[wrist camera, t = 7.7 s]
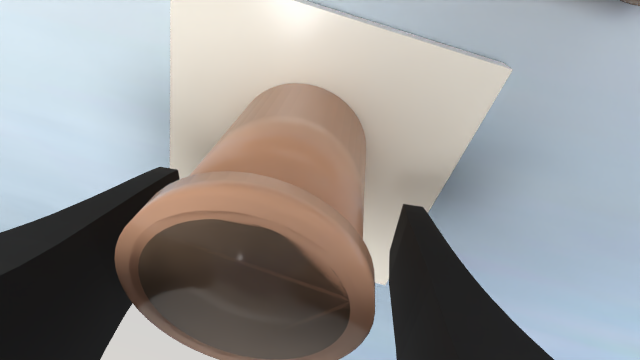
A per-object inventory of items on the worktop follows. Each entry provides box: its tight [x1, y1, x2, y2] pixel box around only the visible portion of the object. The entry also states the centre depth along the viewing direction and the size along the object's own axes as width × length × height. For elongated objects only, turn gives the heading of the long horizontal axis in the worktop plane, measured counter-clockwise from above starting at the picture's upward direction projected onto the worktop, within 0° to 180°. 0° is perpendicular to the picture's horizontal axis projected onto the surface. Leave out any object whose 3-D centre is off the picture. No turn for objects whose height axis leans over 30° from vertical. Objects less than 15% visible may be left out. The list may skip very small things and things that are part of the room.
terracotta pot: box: [115, 83, 375, 360], centre depth 10 cm, size 6×6×7 cm
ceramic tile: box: [170, 0, 512, 285], centre depth 14 cm, size 11×11×1 cm
